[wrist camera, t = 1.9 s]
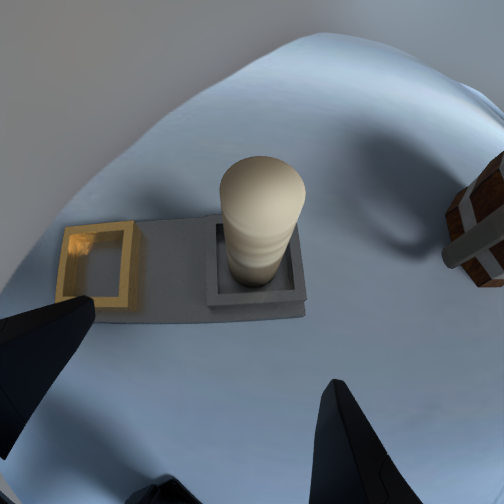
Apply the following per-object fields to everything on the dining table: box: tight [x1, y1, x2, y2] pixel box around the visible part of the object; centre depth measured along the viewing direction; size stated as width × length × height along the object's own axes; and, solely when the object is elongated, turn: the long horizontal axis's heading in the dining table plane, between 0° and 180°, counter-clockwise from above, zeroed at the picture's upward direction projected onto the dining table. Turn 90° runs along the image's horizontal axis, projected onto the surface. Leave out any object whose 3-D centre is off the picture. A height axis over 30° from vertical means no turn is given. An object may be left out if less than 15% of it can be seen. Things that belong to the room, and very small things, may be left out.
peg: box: [220, 156, 305, 288], centre depth 18 cm, size 4×4×11 cm
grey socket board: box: [55, 214, 307, 324], centre depth 23 cm, size 21×9×3 cm, turn 94°
